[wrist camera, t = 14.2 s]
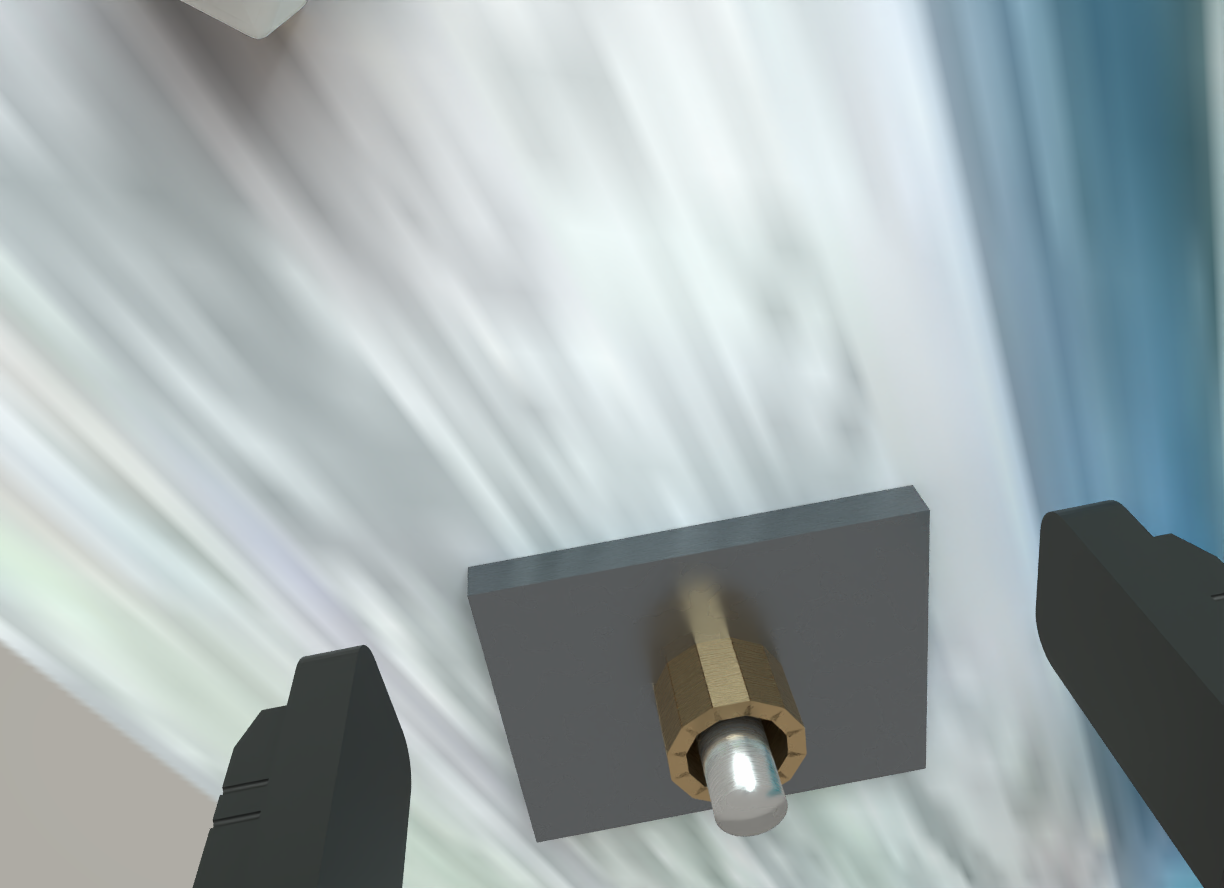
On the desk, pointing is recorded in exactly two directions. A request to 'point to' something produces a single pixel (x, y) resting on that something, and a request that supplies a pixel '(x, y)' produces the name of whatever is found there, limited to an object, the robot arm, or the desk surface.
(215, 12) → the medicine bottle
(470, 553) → the desk surface
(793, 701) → the bronze ring
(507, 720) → the piston stand
